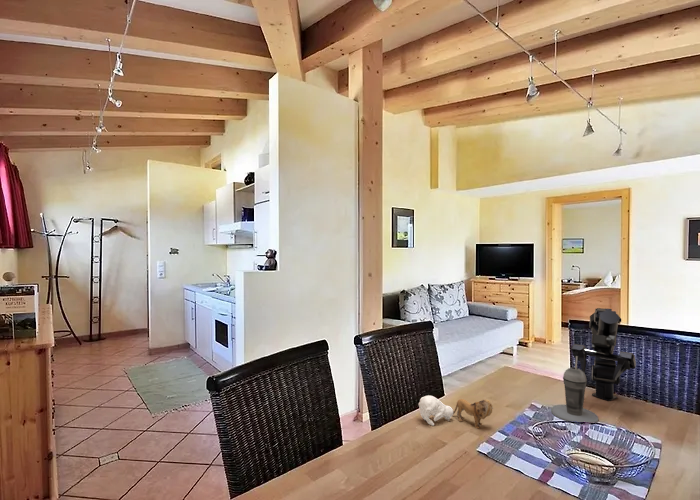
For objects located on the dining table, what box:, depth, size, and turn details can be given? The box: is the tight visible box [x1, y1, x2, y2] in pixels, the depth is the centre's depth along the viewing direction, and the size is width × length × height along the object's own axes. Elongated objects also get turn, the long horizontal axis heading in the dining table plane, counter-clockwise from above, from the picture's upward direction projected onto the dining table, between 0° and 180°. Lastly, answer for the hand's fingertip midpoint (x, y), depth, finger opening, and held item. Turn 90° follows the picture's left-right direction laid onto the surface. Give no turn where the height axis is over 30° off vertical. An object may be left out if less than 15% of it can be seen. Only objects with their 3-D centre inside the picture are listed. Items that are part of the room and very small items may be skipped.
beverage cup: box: [562, 356, 588, 416], centre depth 131 cm, size 7×7×20 cm
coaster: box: [550, 404, 599, 423], centre depth 131 cm, size 14×14×1 cm
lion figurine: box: [453, 398, 494, 430], centre depth 125 cm, size 15×5×9 cm, turn 47°
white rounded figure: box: [418, 395, 454, 427], centre depth 126 cm, size 6×8×12 cm
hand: (598, 376), depth 131 cm, fingers open, 9 cm apart
